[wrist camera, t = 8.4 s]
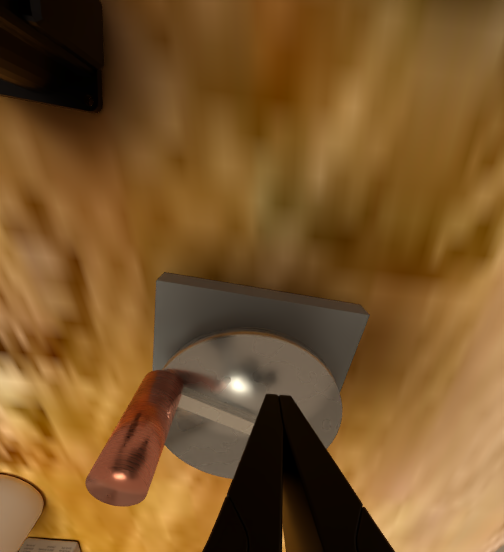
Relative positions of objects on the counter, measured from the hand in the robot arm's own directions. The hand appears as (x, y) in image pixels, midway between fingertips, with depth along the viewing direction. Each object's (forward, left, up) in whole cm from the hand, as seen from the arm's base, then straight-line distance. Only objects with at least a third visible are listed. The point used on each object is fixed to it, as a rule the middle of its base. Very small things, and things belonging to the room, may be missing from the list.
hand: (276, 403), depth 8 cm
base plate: (0, -7, -10) cm, 12 cm away
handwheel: (0, -7, -8) cm, 11 cm away
